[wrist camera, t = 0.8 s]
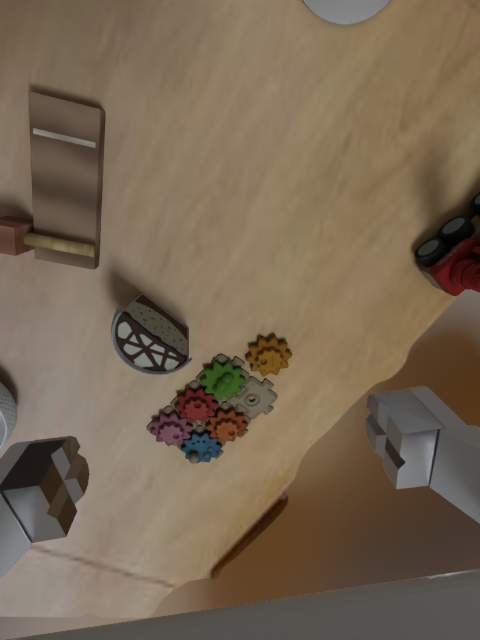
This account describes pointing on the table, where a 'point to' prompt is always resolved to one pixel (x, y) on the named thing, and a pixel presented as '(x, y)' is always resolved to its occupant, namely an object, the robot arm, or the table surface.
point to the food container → (150, 337)
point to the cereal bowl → (6, 414)
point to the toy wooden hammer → (34, 239)
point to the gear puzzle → (221, 402)
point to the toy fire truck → (454, 254)
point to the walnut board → (66, 175)
